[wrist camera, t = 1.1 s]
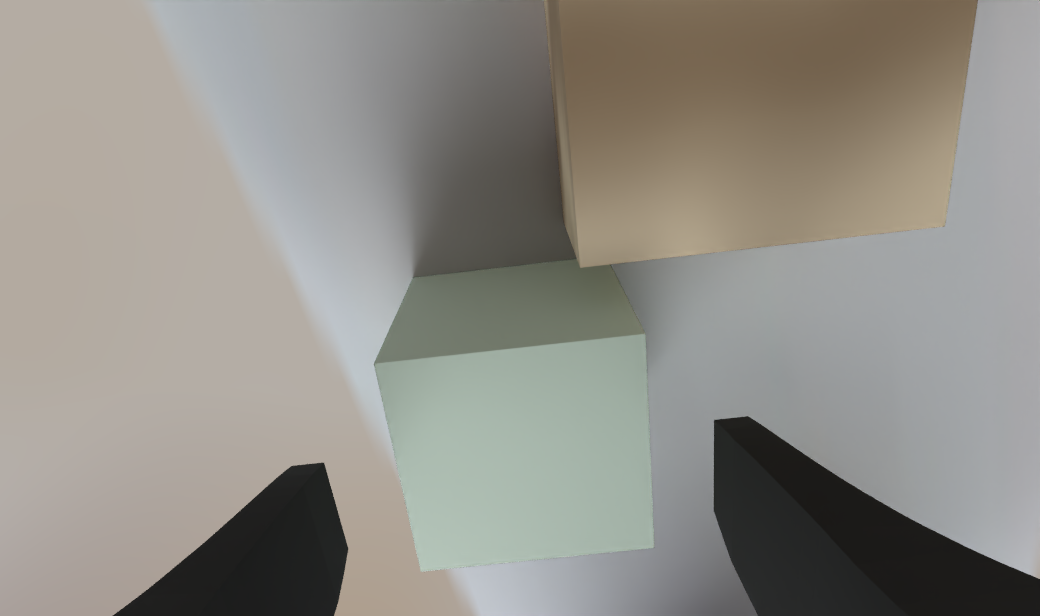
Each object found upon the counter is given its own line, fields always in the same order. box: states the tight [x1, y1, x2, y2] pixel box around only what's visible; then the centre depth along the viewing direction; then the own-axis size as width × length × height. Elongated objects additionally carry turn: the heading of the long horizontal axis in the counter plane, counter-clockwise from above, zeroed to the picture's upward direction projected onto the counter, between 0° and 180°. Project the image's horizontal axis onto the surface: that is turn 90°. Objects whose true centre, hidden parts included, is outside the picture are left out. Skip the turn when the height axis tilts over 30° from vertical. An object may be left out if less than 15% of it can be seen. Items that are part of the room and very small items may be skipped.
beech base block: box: [544, 0, 978, 268], centre depth 12 cm, size 7×7×4 cm
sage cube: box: [374, 259, 654, 571], centre depth 14 cm, size 5×5×5 cm
